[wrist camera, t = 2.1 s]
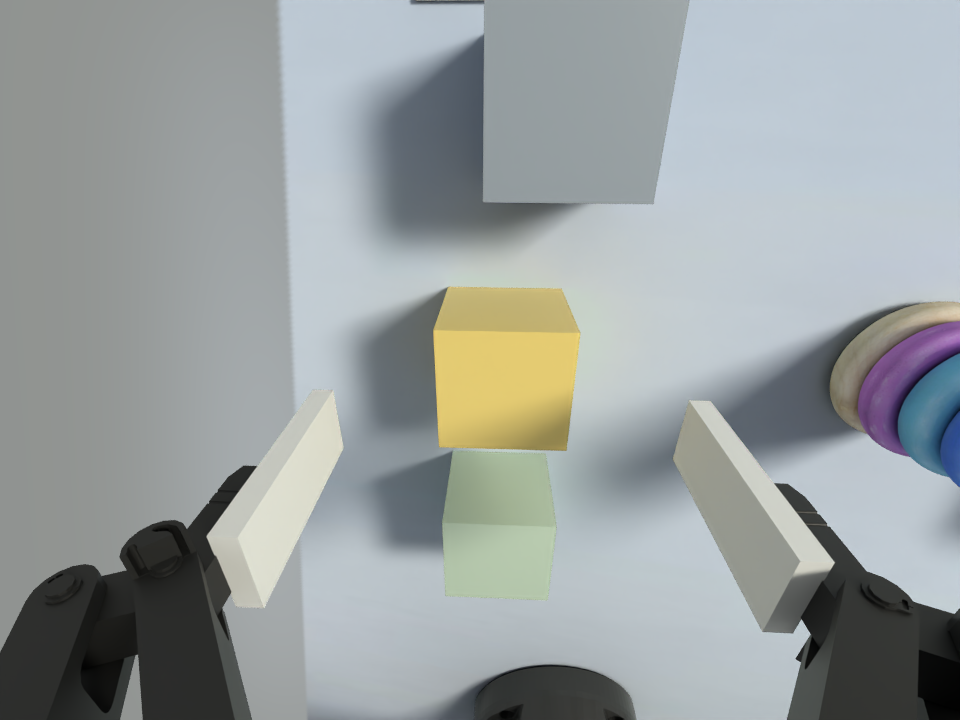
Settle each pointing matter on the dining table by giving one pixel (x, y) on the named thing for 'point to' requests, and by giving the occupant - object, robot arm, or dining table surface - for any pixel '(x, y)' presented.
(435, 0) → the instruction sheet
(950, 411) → the stacking toy
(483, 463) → the sage brick
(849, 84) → the dining table surface
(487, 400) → the mustard brick
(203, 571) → the robot arm
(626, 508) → the dining table surface
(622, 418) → the dining table surface
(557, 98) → the slate brick
